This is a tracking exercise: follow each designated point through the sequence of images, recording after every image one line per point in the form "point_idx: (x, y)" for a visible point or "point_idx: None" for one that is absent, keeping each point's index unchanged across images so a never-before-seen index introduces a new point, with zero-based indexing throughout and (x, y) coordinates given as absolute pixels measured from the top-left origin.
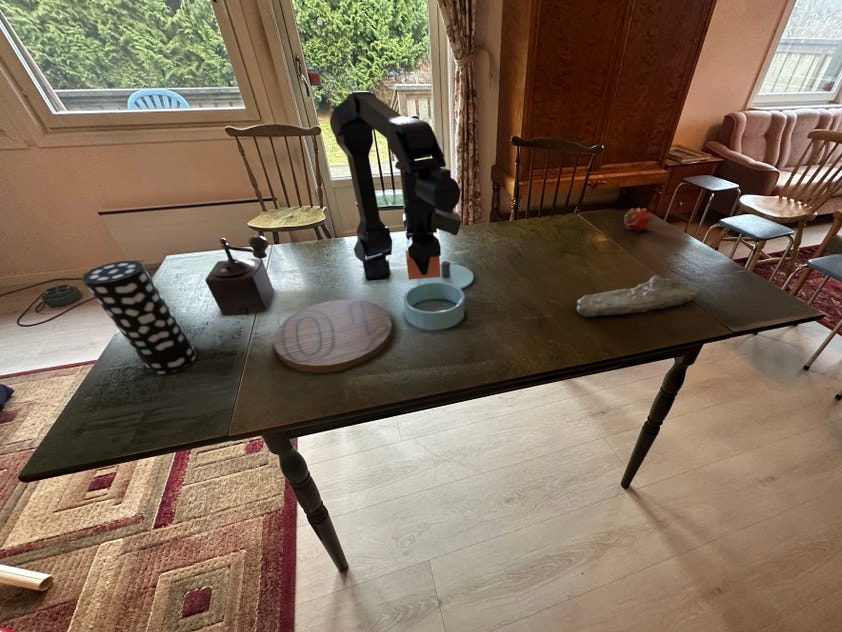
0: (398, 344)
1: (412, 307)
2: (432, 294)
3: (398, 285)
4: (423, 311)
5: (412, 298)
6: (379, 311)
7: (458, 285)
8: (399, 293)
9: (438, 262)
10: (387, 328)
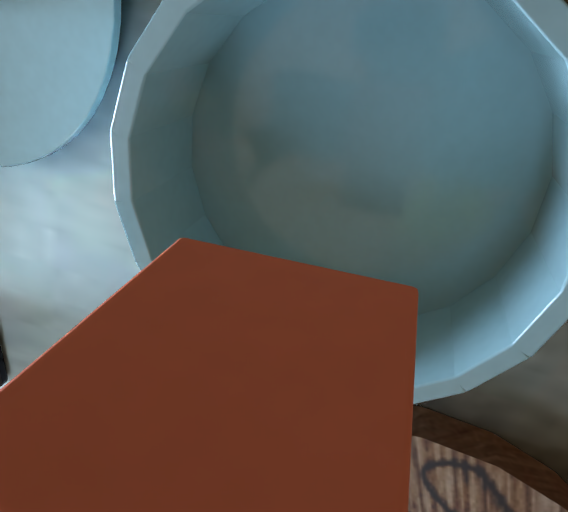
0: (563, 422)
1: (428, 389)
2: (178, 146)
3: (29, 266)
4: (517, 348)
5: None
6: None
7: None
8: (102, 284)
9: (404, 497)
10: (461, 465)
